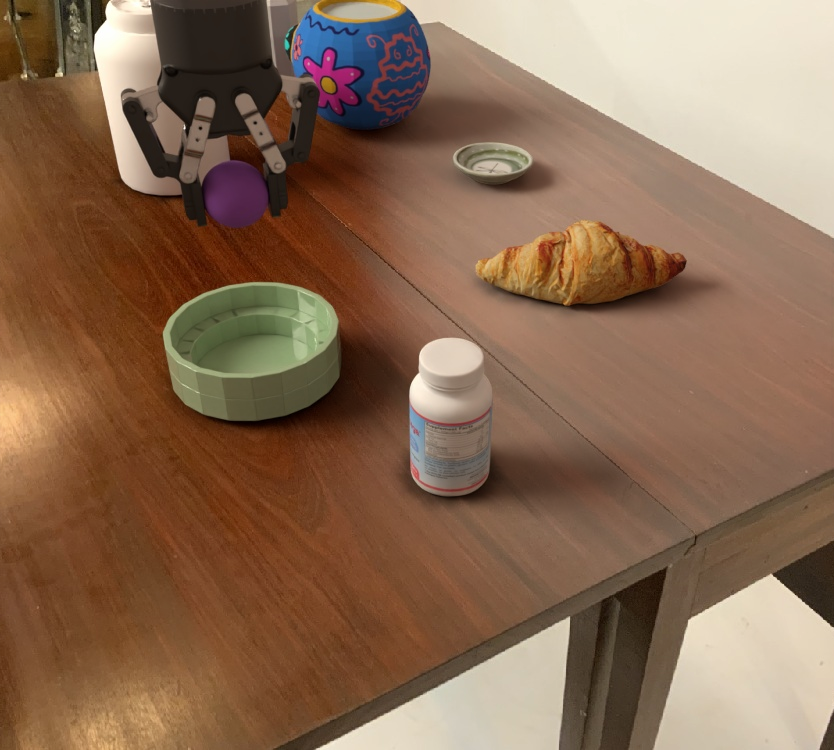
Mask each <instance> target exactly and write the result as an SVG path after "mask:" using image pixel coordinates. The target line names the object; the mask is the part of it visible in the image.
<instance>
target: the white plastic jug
mask: <svg viewBox="0 0 834 750" xmlns="http://www.w3.org/2000/svg"><path fill="white" fill-rule="evenodd" d="M105 7H106V8H105V17H106V20H105V21H104V22H103V23H102V25H100V27H99V28H98V30H97V31H96V32H95V34H94V42H93V52H94V58H95V62H96V67H97V71H98V76H99V77H98V78H99V81H100V86H101V89H102V96H103V99H104V105H105V109H106V115H107V119H108V124H109V128H110V133H111V139H112V143H113V149H114V153H115V157H116V162H117V163H116V164H117V168H118V171H119V175H120V178H121V180H122V182H123V183H124V184H125V185H126V186H128V187H129V188H131V189H132V190H134V191H137V192H139V193H143V194H147V195H156V196H180V195H181V196H182V191H181V185H180V183H179V181H178V180H176V179H175V178H171V177H165V178H158V177H156V176H154V175H153V173H152V171H151V169H150V167H149V165H148V163H147V160H146V158H145V156H144V154H143V152H142V150H141V148H140V146H139V144H138V142H137V140H136V138H135V136H134V134H133V131H132V129H131V127H130V125H129V123H128V121H127V119H126V117H125V115H124V113H123V110H122V103H121V93H122V91H123V90H124V89H127V88H131V89H134V90H135V91H140V90H143V89H146V88H149V87H152V86H156V85H157V81H158V78H159V75H160V72H161V62H160V57H159V51H158V45H157V39H156V33H155V28H154V22H153V16H152V10H151V4H150V0H109V1H108V3H107V4H106V6H105ZM157 113H158V118H157V120H156V121H155V122H153V123H152V125H153V127H154V129H155V131H156V133H157V135H158V137H159V140H160V142H161V144H162V146H163V148H164V150H165V152H166V153H168V154H173V155H178V152H179V147H180V143H181V133H182V128H183V124H184V122H183V121H182V120H181V119H180V118H179V117H178V116H177V115H176V114H175V113H174V112H173V111H172V110H171V109H170V108H169V107H168V106H167V105H166V104H165V103H164V102H161V103H160V104H159V105H158V107H157ZM225 161H231V156H230V148H229V142H228V135H226V136H223V137H220V138H217V139H207V142H206V146H205V150H204V154H203V156H202V157H201V161H200V165H199V170H198V175H199V179H200V183H201V186H202V182H203V179H204V177H205V176H206V174H207V173H208V172H209V170H211V169H212V168H213V167H214V166H216V165H217V164H219V163H222V162H225Z"/></svg>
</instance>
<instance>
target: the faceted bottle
mask: <svg viewBox="0 0 834 750" xmlns="http://www.w3.org/2000/svg"><path fill="white" fill-rule="evenodd" d="M267 9H268V19H269V28H270V38H271V48H272V58H273V63H274V66H275V67H276V68H277V70H278V72H279V74H280V75H285V76H291V77H295V74H294V69H293V64H292V63H291V61H290V60H289V58H288V56H287V54H286V50H285V38H286V35H287V33H288V31H289V30H290V29H291V28H292V27H293V26H295V25H297V24H299V17H298V4H297V0H267Z"/></svg>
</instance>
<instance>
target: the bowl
mask: <svg viewBox="0 0 834 750" xmlns="http://www.w3.org/2000/svg"><path fill="white" fill-rule="evenodd" d="M162 338H163V344H164V350H165V355H166V360H167V366H168V371H169V374H170V380H171V381H170V382H171V385H172V390H173V391H174V393H175V394H176V396H177V397H178V398H179V399H180V401H182V403H183V404H184V405H186V406H187V407H188V408H191V409H192V410H194V411H196V412H198V413H199V414H201V415H204V416H207V417H210V418H216V419H219V420H225V421H230V422H231V421H233V422H240V421H241V422H258V421H259V422H260V421H263V420H268V419H269V420H270V419H275V418H279V417H285V416H288V415H290V414H293V413H296V412H298V411H301V410H303V409H307V408H308V407H310V406H312V405H313V404H314V403H316V402H317V401H319V400H320V399H321V398H323V397H324V396H325V395H327V394H328V393H329V392H330V391H331V390H332V388H333V386H335V384H336V382H337V381H338V379H339V378H340V376H341V375H340V374H341V368H342V362H343V361H342V348H341V345H342V344H341V332H340V320H339V317H338V315H337V312H336V310H335V307H334V306H333V305H331V303H330V302H328V301H327V300H326V299H325V298H324V297H323V296H322V295H320V294H319V293H316V292H313V291H311V290H309V289H307V288H305V287H302V286H297V285H293V284H288V283H283V282H275V281H274V282H270V281H252V282H244V283H243V282H242V283H236V284H230V285H225V286H222V287H219V288H216V289H212V290H209V291H206V292H203V293H201V294H200V295H198V296H196V297H194V298H192V299H190V300H189V301H187V302H185V303H183V304H182V305H181V306H180V307H179V308H178V309H176V310H175V312H174V313H173V314H171V316H170V317H168V320H167V322H166V324H165V327H164V329H163V331H162Z"/></svg>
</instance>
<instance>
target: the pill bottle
mask: <svg viewBox="0 0 834 750" xmlns="http://www.w3.org/2000/svg"><path fill="white" fill-rule="evenodd" d="M418 355H419V356H418V373H417V374H416V375H415V377H414V378H413V379H412V382H411V384H410V387H409V395H408V396H409V397H408V398H409V400H408V401H409V460H410V461H409V462H410V473H411V474H410V475H411V477H412V478H413V480H414V482H415V483H416V485H417V486H418V487H420V488H421V489H422V490H424V491H425V492H427V493H430V494H433V495H436V496H441V497H460V496H465V495H469V494H471V493H473V492H475V491H477V490H478V489H480V487H482V486H483V485H484V484H485V482H486V481H487V479H488V476H489V474H490V466H491V449H492V448H491V447H492V445H491V444H492V421H493V397H494V396H493V395H494V394H493V387H492V384H491V382H490V380H489V378H488V376H486V375H485V374H484V373H485V356H484V352H483V350H482V349H481V348H480V347H479V346H478V345H477V344H476V343H474V342H472V341H470V340H467V339H465V338H461V337H460V338H459V337H443V338H438V339H434V340H432V341H430V342H428V343H426V344H425V345H424V346H423V347H422V348H421V350H420V352H419V354H418Z"/></svg>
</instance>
